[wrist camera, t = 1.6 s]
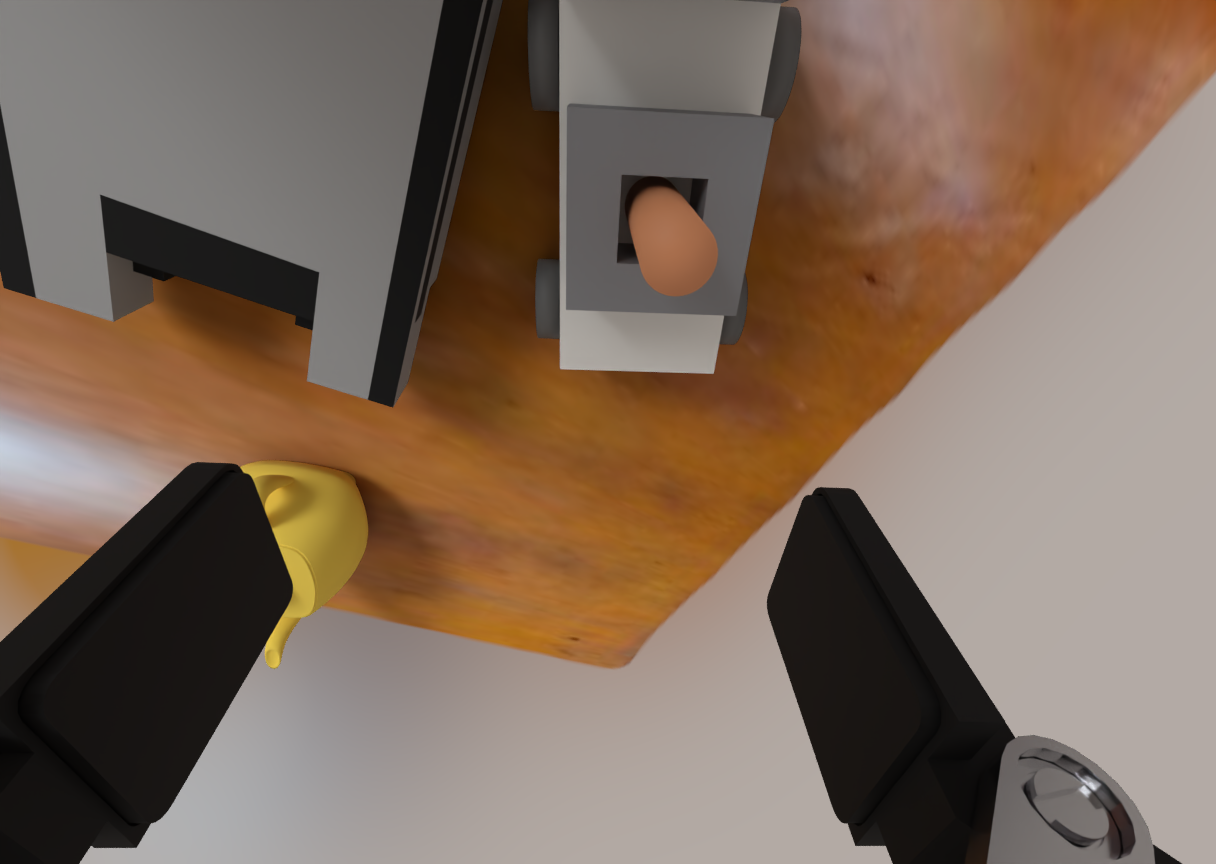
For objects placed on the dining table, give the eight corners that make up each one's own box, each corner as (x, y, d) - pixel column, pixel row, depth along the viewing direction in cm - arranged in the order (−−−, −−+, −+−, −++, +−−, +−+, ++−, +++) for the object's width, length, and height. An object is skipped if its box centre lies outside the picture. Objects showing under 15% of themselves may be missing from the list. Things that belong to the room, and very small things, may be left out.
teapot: (381, 578, 52) (339, 681, 43) (263, 565, 51) (193, 669, 42) (376, 431, 42) (320, 525, 34) (229, 409, 41) (129, 501, 32)
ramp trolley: (535, -29, 27) (496, -106, 16) (782, -12, 28) (914, -74, 16) (542, 333, 38) (523, 439, 27) (718, 339, 39) (771, 445, 28)
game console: (102, 253, 34) (-18, 295, 28) (7, -618, 18) (-341, -1038, 11) (421, 359, 39) (387, 417, 32) (569, -252, 23) (561, -390, 16)
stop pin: (626, 174, 27) (643, 214, 19) (683, 177, 28) (724, 218, 19) (622, 233, 29) (636, 295, 21) (676, 236, 29) (711, 297, 21)
